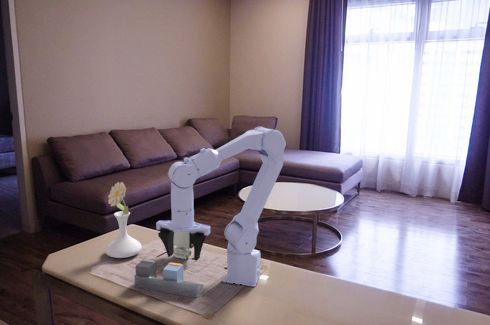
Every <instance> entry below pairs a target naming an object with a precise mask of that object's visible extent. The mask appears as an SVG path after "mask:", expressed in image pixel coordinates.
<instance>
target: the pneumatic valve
mask: <svg viewBox="0 0 490 325" xmlns="http://www.w3.org/2000/svg"><path fill="white" fill-rule="evenodd" d="M194 235H196V233H190V232H180V233H178V232H174V246H175V247H174V254H173V255H175V256H174V257H175V258H176V259H179V258H181V260H184V259H185V260H187V258H190V257H192V249H194V245H193V240H192V237H193V236H194ZM186 257H187V258H186Z"/></svg>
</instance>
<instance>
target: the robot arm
mask: <svg viewBox="0 0 490 325" xmlns="http://www.w3.org/2000/svg"><path fill="white" fill-rule="evenodd" d="M284 137H285V136H284V135H283V133H282V132H281V131H280V130H277V129H271V128H266V127H264V126H257V127H256V126H255V128H253V129H250V130H246V131H245V133H243V134H241V135H238V136H237V137H236V138H234V139H232V140H230V141H228V142H227V143H225V144H224V145H222V146H220V147H218V148H216V149H213V148H210V147H208V148H207V149H206V148H205V147H203V148H201V149H200V150H199V152H198V153H196V154H195V155H192V156H190V157H184V158H183V161H175V162H174V163H172V164H171V166H170V168H169V169H168V172H167V176H168V178H169V180H170V181H171V182H170V203H171V204H170V206H171V208H170V209H171V220H158V221H157V222H156V223H155V225H156V226H155V227H156V231H157V230H158V231H159V232H158V233H157V234H158V237H159V239H160V240H161V243H162V244H163V246H164V247H165V251H166V254H167V257H168V258H171V257H172V255H173V256H174V255H175V254H174V249H175V247H174V246H175V245H174V232H178V233H180V232H190V233H196V235H194V236H193V237H192V240H193V245H194V247H193V258H194V261H199V259H200V258H201V254H202V253H201V252H202V249H203V248H202V247H203V246H204V243H205V240H206V238H207V237H208V236H209V235H210V234H211V225H207V224H203V223H199V222H196V221H195V209H194V208H195V207H194V184H195V183H196V180H197V179H199V178H202V177H204V176H205V175H207V174H209V173H211V172H214V171H215V170H217V169H218V168H220V166H221V163H222V161H225V160H226V159H229V158H231V157H233V156H236V155H237V154H240V153H242V152H244V151H247V150H253V151H254V150H255V151H257V154H259V157H260V159H261V162H262V164H261V167H260V169H259V170H258V173H257V174H256V177H255V180H254V182H253V184H252V186H251V188H250V191H249V193H248V194H247V197H246V199H245V201H244V203H243V206H242V208H241V210H240V212H239V213H238V214H236V215H234V216H233V219H232V220H231V221H230V222H229V223H228V224H227V225H226V227H225V228H224V232H223V233H224V237H225V239H226V240H227V247H226V249H227V252H226V254H227V255H226V264H227V265H226V273H225V276H224V277H223V278H222V282H223V283H226V282H227V284H233V283H235V284H234V285H240V284H242V285H241V286H247V287H253V288H254V287H256V285H257V283H258V280H259V278H260V276H261V257H262V255H261V250H258V249H255V247H256V246H257V238H258V235H259V232H260V230H259V224H258V221H259V219H260V217H261V214H262V212H263V211H264V208H265V205H266V203H267V201H268V199H269V197H270V195H271V193H272V190H273V188H274V187H275V184H276V182H277V179H278V177H279V175H280V172H281V170H282V168H283V166H284V159H285V158H284V157H285V156H284V155H285V148H286V145H287V142H286V139H285V138H284Z"/></svg>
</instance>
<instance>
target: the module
mask: <svg viewBox="0 0 490 325" xmlns="http://www.w3.org/2000/svg"><path fill="white" fill-rule="evenodd" d="M162 276H163V277H162V278H163V279H169V280H176V281H182V282H183V281H184V264H183V263H179V262H178V263H177V262H168V264H167V265H166V266H165V267H164V268H163V269H162Z"/></svg>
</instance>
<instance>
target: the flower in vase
mask: <svg viewBox="0 0 490 325" xmlns="http://www.w3.org/2000/svg"><path fill="white" fill-rule="evenodd" d="M126 191H127V187H126V185H125V184H124V182H123V181H121V182H119V181H118V182H116V183H115V184H114V185H113V186H111V190H110V192H109V194H108V196H107V198H108V200H107V201H108V202H107V203H108V204H109V205H110V207H115V206H116V208H117V209H119V210H121V211H116V212H114V213H113V215H114V216H113V217H115V218H116V220H117V223H118V228H119V230H118V232H119V233H118V236H117V237H116V238H115V239H113V240H112V241H111V242H110V243H109V244H108V245H107V246H106V248H105V251H104V252H105V254H106V255H107V256H108V257H109V258H110V257H111V258H115V259H123V258H129V257H133V256H135V255H137V254H139V253H140V252H141V250H142V248H143V246H142V244H141V242H140V241H139V240H138V239H135V238H133V237H132V236H130V235H129V234H128V230H127V224H128V219H129V216H130V214H131V212H130V211H129V206H128V205H126V202H125V200H124V198H125V196H126ZM121 202H123V204H121Z"/></svg>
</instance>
